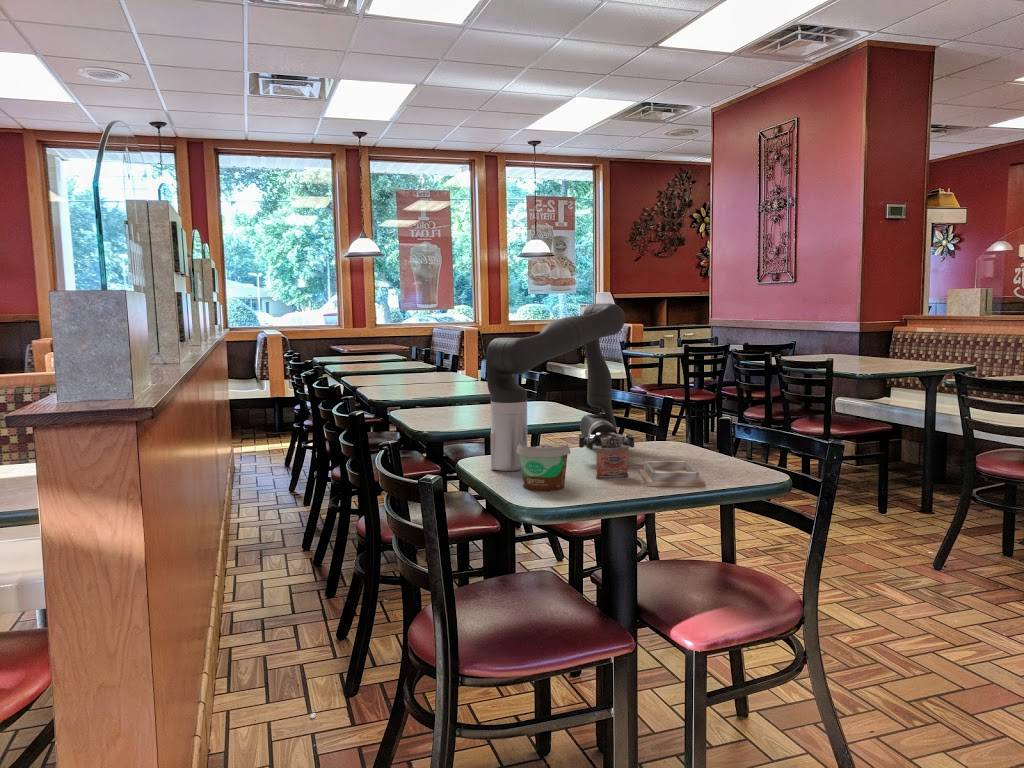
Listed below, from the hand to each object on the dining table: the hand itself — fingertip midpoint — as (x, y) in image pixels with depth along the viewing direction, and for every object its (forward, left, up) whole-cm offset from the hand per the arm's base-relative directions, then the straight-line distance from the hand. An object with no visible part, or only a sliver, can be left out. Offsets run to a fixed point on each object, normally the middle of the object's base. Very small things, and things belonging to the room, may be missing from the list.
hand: (608, 445), depth 189 cm
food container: (-17, -22, -6) cm, 28 cm away
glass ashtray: (+13, -12, -6) cm, 19 cm away
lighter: (0, -10, -6) cm, 12 cm away
